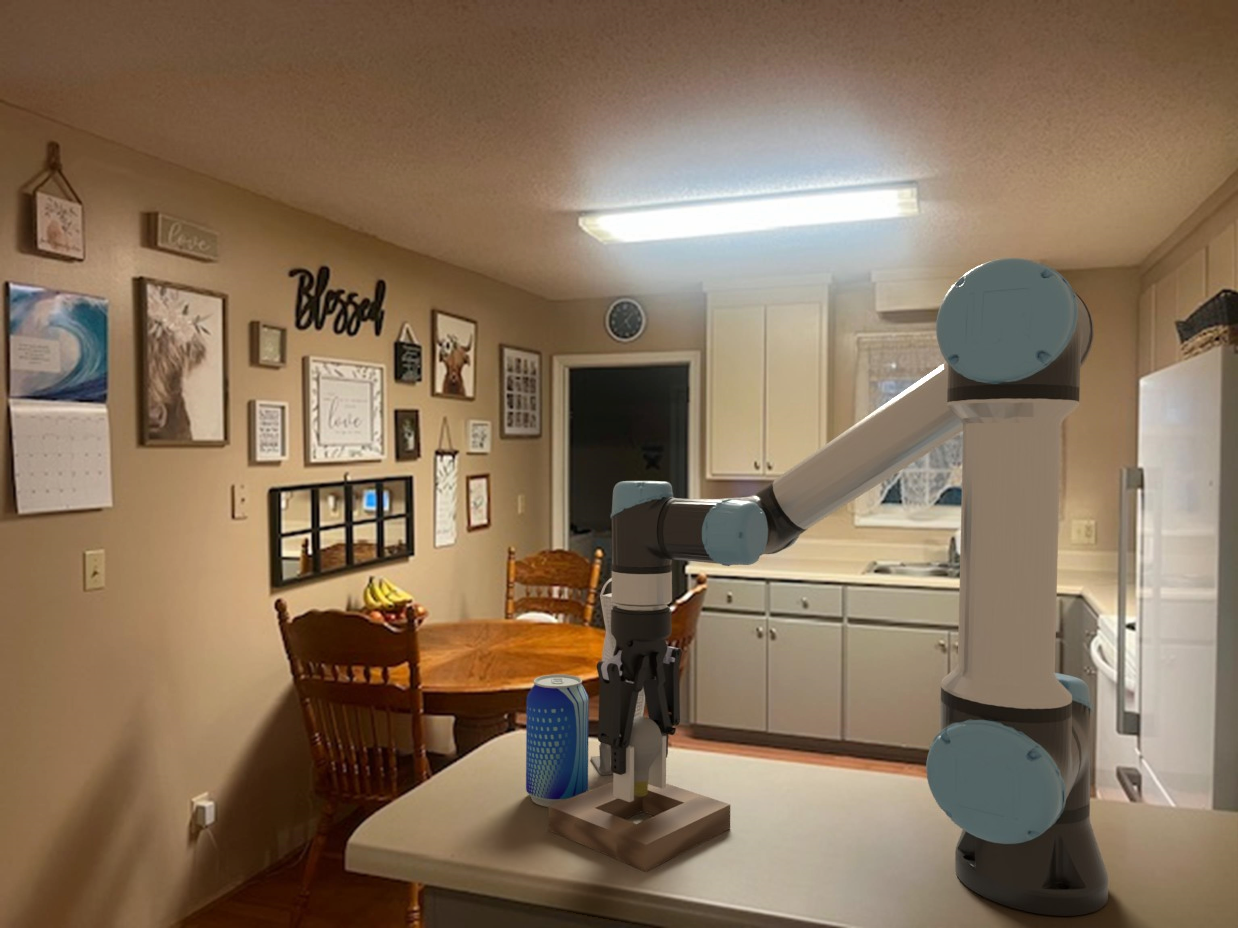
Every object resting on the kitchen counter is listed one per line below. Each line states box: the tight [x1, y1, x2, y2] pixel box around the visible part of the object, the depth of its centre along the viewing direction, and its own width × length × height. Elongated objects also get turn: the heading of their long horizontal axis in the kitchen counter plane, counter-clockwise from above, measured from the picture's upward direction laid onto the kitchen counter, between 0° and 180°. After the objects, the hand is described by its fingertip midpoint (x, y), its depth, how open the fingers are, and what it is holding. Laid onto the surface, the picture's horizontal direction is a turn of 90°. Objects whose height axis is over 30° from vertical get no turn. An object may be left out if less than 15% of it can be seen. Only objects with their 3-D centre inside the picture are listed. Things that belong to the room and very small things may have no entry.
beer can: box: [525, 673, 590, 808], centre depth 120 cm, size 8×8×16 cm
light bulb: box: [620, 715, 662, 798], centre depth 110 cm, size 6×6×10 cm
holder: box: [548, 781, 731, 872], centre depth 110 cm, size 16×16×3 cm
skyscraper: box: [590, 577, 646, 776], centre depth 134 cm, size 8×8×28 cm
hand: (640, 791), depth 110 cm, fingers closed on light bulb, 5 cm apart
